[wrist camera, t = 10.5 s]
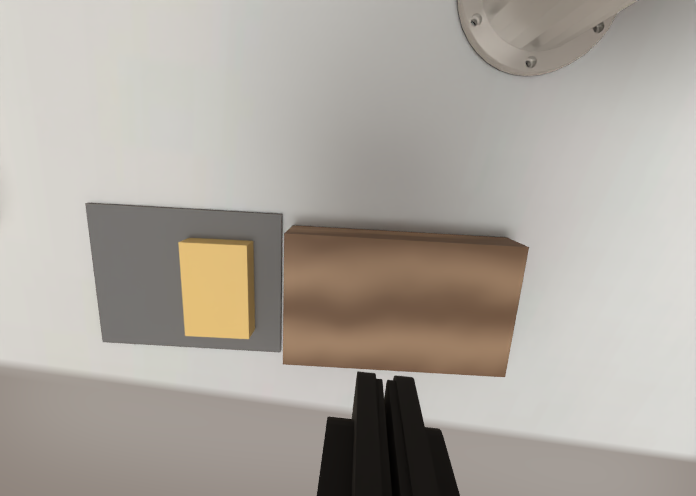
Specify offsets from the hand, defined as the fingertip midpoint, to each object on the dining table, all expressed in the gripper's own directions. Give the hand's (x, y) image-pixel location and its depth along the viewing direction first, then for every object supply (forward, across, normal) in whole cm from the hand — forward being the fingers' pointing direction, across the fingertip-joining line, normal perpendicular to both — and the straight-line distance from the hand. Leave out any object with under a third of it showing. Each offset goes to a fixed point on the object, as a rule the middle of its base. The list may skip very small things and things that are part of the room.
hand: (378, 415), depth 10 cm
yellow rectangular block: (+19, +13, +6) cm, 24 cm away
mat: (+22, +17, +6) cm, 28 cm away
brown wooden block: (+22, -3, +5) cm, 23 cm away
